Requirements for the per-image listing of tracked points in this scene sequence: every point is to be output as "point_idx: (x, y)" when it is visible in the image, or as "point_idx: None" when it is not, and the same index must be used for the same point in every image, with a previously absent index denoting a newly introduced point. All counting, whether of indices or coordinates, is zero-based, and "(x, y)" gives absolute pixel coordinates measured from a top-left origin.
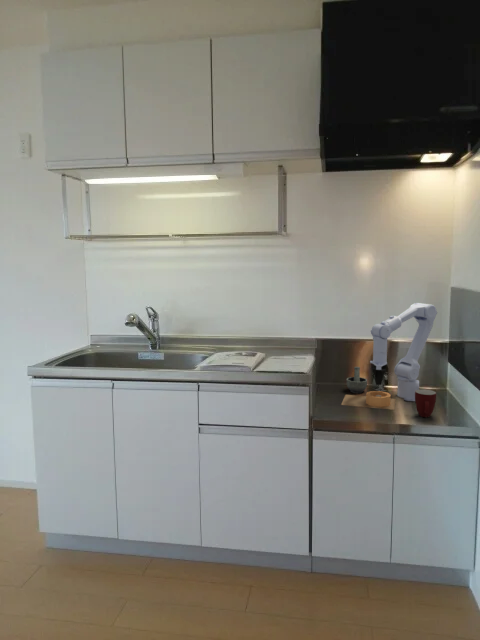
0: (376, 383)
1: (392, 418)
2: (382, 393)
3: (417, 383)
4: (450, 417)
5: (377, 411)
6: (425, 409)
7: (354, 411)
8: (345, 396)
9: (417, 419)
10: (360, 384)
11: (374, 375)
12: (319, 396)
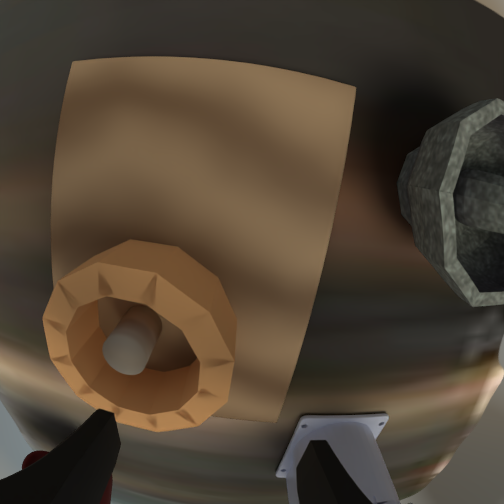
0: (92, 418)
1: (6, 340)
2: (190, 393)
3: None
4: (115, 490)
5: None
6: (26, 457)
7: (26, 159)
8: (298, 77)
9: (43, 417)
10: (428, 229)
11: (21, 470)
12: None
